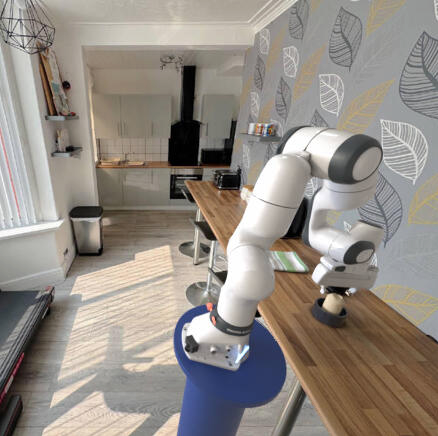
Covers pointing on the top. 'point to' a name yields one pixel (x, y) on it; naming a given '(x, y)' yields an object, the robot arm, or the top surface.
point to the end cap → (337, 290)
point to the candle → (333, 304)
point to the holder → (328, 314)
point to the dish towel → (287, 262)
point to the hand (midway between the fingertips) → (335, 294)
